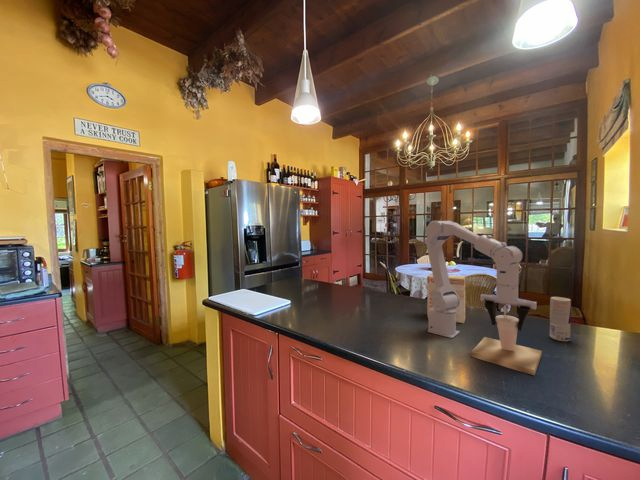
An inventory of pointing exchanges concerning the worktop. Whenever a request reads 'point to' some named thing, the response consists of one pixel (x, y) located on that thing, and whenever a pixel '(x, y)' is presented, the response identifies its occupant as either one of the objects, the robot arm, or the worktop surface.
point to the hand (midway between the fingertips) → (506, 326)
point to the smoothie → (507, 330)
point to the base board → (508, 355)
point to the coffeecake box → (455, 282)
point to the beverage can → (560, 318)
